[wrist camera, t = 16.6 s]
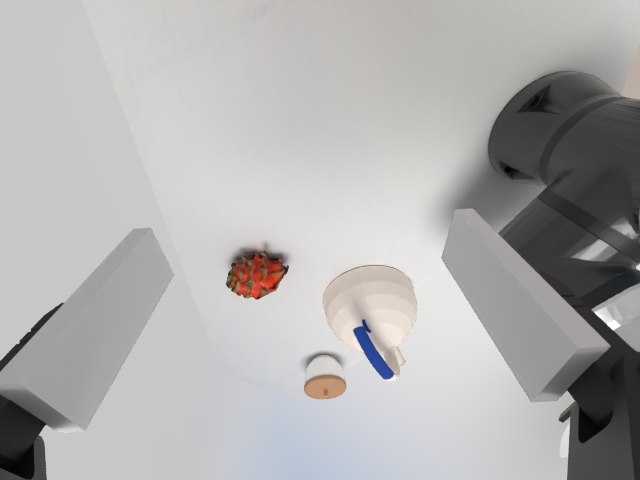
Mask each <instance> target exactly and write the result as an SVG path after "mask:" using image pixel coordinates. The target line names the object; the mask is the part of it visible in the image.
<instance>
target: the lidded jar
mask: <svg viewBox="0 0 640 480" xmlns="http://www.w3.org/2000/svg"><path fill="white" fill-rule="evenodd" d="M345 390H346V382H345V377H344V373H343V370H342V367H341V365H340V364H339V363H338V362H337V361H336V360H335V359H334V358H333V357H332V356H330V355H319V356H317V357H315V358H314V359H313V360H312V361H311V363H310V364H309V365H308V367H307V370H306V373H305V385H304V391H305V393H306V394H307V395H308V396H309V397H312V398H315V399H331V398H335V397H337V396H339V395H341V394H343V393H344V392H345Z"/></svg>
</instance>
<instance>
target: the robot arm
mask: <svg viewBox="0 0 640 480" xmlns="http://www.w3.org/2000/svg"><path fill="white" fill-rule="evenodd" d="M489 157H490V161H491V163H492V165H493V166H494V168H495V169H496V170H497V171H498V172H499V173H501V174H502V175H504V176H505V177H507V178H509V179H511V180H513V181H516V182H521V183H527V184H534V185H540V186H547V188H546V189H545V190H544V191H543V192H542V193H541V194H540V195H539V196H537V197H536V198H535V199H534V200H533V201H532V202H531V203H530V204H529V205H528V206H527V207H526V208H524V209H523V210H522V211H521V212H520V213H519V214H518V215H517V216H516V217H515V218H514V219H513V220H512V221H511V222H510V223H509V224H508V225H506V226H505V227H504V228H503V229H502V230H501V231H500V232H499V233H497V232H496V231H495V230H494V229H493V228H492V227H491V226H490V225H489V224H488V223H487V222H486V221H485V220H484V219H483V218H482V217H481V216H480V215H479V214H478V213H477V212H476V211H475V210H474V209H473V208H469V209H455V211H454V214H453V218H452V222H451V225H450V229H449V232H448V236H447V240H446V243H445V247H444V250H443V254H442V258H441V259H442V260H443V262H444V264H445V265H446V267H447V268H448V270H449V272H450V273H451V275H452V276H453V278H454V280H455V281H456V282H457V284H458V286H459V287H460V289H461V291H462V292H463V294H464V296H465V297H466V299H467V300H468V302H469V304H470V305H471V307H472V308H473V310H474V312H475V313H476V315H477V316H478V318H479V320H480V321H481V323H482V324H483V326H484V327H485V329H486V330H487V332H488V334H489V336H490V337H491V339H492V340H493V342H494V343H495V345H496V346H497V348H498V350H499V352H500V353H501V355H502V356H503V358H504V360H505V361H506V363H507V364H508V366H509V367H510V369H511V371H512V372H513V374H514V376H515V377H516V379H517V380H518V382H519V384H520V385H521V387H522V388H523V390H524V392H525V393H526V395H527V396H528V398H529V399H530V401H531V402H541V401H542V402H543V401H557V400H558V399H559V398H560V397H561V396H562V395H563V394H564V393H565V392H566V391H567V390H568V392H569V393H570V394H571V395H572V397H573V398H574V400H575V402H574V403H572V404H571V405H570V406H569V407H568V408H567V409H566V410H565V411H564V412H563V413H562V414H561V415H560V417H559V421H561V422H564V421H565V420H567V419H568V418H569V417H571V418H570V435H569V455H568V474H567V475H568V476H567V480H640V271H639V270H637V269H636V266H637V265H639V264H640V100H637V99H631V98H625V97H622V96H621V95H620V94H618V93H617V92H616V91H615V90H613V89H612V88H611V87H609V86H608V85H607V84H605V83H604V82H603V81H602V80H600V79H599V78H597V77H595V76H592V75H589V74H585V73H577V72H559V73H554V74H551V75H548V76H545V77H543V78H541V79H539V80H537V81H535V82H533V83H532V84H530V85H529V86H527V87H526V88H524V89H523V90H522V91H521V92H520V93H518V94H517V95H516V96H515V97H514V98H513V99H512V100H511V101H510V102H509V104H508V105H507V106H506V107H505V108H504V110H503V111H502V113H501V114H500V116H499V117H498V119H497V121H496V123H495V125H494V127H493V129H492V132H491V136H490V140H489ZM173 276H174V274H173V272H172V270H171V268H170V266H169V263H168V261H167V259H166V257H165V255H164V253H163V251H162V249H161V247H160V245H159V243H158V241H157V239H156V237H155V235H154V233H153V231H152V229H151V228H142V229H133V230H132V231H131V232H130V233H129V234H128V235H127V236H126V237H125V239H124V240H123V241H122V242H121V243H120V244H119V245H118V246H117V247H116V248H115V249H114V250H113V251H112V252H111V253H110V254H109V256H108V257H107V258H106V259H105V260H104V261H103V262H102V263H101V264H100V265H99V266H98V267H97V268H96V270H95V271H94V272H93V273H92V274H91V275H90V276H89V277H88V278H87V279H86V280H85V281H84V282H83V283H82V285H81V286H80V287H79V288H78V289H77V290H76V291H75V292H74V293H73V294H72V295H71V296H70V297H69V299H68V300H67V301H66V302H65V303H61V304H60V305H58V306H57V307H55V308H54V309H53V310H51V311H50V312H48V313H47V314H46V315H44V316H43V317H42V318H41V319H40V320H39V321H38V322H37V323H36V325H35V326H34V327H33V328H32V329H31V332H28V333H27V334H26V335H25V336H24V337H23V338H22V339H21V340H20V343H19V344H16V345H15V346H14V347H13V348H12V349H11V350H10V351H9V353H8V354H7V355H6V356H5V357H4V358H3V359H2V360H1V361H0V480H47V478H46V462H45V447H44V441H43V439H42V437H41V436H39V434H40V432H41V431H42V429H43V427H44V426H45V425H48V426H49V427H51V428H52V429H54V430H55V431H57V432H58V433H63V432H79V431H85V430H86V428H87V427H88V425H89V423H90V421H91V420H92V418H93V416H94V414H95V413H96V411H97V409H98V407H99V406H100V404H101V402H102V400H103V399H104V397H105V395H106V393H107V392H108V390H109V388H110V386H111V385H112V383H113V381H114V379H115V378H116V376H117V374H118V372H119V371H120V369H121V367H122V365H123V364H124V362H125V360H126V358H127V357H128V355H129V353H130V351H131V350H132V348H133V346H134V344H135V342H136V341H137V339H138V337H139V336H140V334H141V332H142V330H143V329H144V326H145V325H146V323H147V322H148V320H149V318H150V316H151V315H152V313H153V311H154V309H155V307H156V306H157V304H158V302H159V301H160V299H161V297H162V295H163V293H164V292H165V290H166V288H167V286H168V284H169V283H170V281H171V279H172V278H173Z"/></svg>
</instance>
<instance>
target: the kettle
mask: <svg viewBox="0 0 640 480" xmlns="http://www.w3.org/2000/svg"><path fill="white" fill-rule="evenodd" d="M323 305H324V309H325V313H326V318H327V322H328V325H329V327H330V328H331V330H332V331H333V333H334V334H335V335H336V337H337V338H338V339H339V340H340V341H342V342H343V343H344V344H346V345H347V346H349V347H350V348H352V349H355V350H357V351H361V352H364V353H365V355H366V356H367V358H368V359H369V361H370V363H371V364H372V365H373V367H374V368H375V369H376V371H377V372H378V373H379V374H380V375H381V376H382V377H383V379H385V380H387V381H390V382H391V381H395V380H396V379H397V378H398V377H399V375H400V368H401V367H403V366H404V365H405V362H406V361H405V360H404V359H403V356H402V354H401V352H400V350H399V348H398V345H399V344H400V343H401V342H402V341H404V340H405V339H406V337H407V336H408V335H409V334H410V332H411V330H412V328H413V326H414V323H415V321H416V314H417V301H416V297H415V294H414V291H413V287H412V284H411V281H410V280H409V279H408V278H407V276H406V275H405V274H403V273H402V272H400V271H398V270H396V269H394V268H390V267H386V266H366V267H360V268H356V269H353V270H351V271H348V272H346V273H344V274H343V275H341V276H339V277H338V278H336V279H335V280H334V281H333V282H332V283H331V284H330V285H329V286H328V288H327V290H326V292H325V294H324V299H323ZM379 353H381V354H383V355H384V357H385V360H386V362H385V361H384V360H383V358H382V357H381V356H380V354H379Z"/></svg>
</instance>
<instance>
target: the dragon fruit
mask: <svg viewBox="0 0 640 480" xmlns="http://www.w3.org/2000/svg"><path fill="white" fill-rule="evenodd" d="M260 254H261V255H263V256H264V257H263V258H262V259H260V258H259V254H256V253H253V254H252V255H251V256H250V258H249V259H248V260H247V259H246V258H245V257H243V256H240V257H238V259H237V261H238V260H239V258H241V259H242V260H243V262H242V264H238V263H232V265H231V266H232V270H231V271H229V273H228V277H227V278H228V279H227V282H226V285H227V287H228V288H232V290H231V291H232V292H234V293H236V294H237V295H238V296H241V295H243V297H244V298H250V297H254V298H255V299H260V298H261V297H263V296H265V295H267V294H269V293H271V292H273V291H276V289H277V288H278V285H279V283H280V281H281V280H282V279H283V277H284V275H285V274H286V273H287V271H288V269H289V266H288V265H287V268H286V266H283V265H282V264H283V262H282V261H281V260H280V259H278V258H273V257H272V258H273V259H272V258H271V259H272V260H278V261H276V262H274V261H269V260H267V259H268V254H266V252H265V251H263V252H260ZM253 257H254V258H253ZM252 258H253V259H252ZM251 259H252V260H251Z"/></svg>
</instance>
